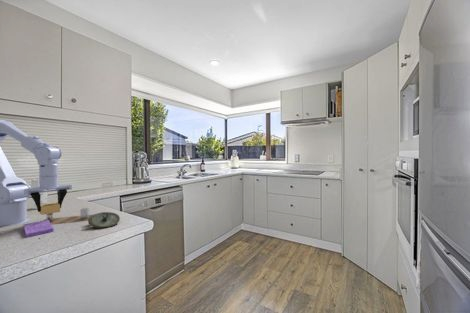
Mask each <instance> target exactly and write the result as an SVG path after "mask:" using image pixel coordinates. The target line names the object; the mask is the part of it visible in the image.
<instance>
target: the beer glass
mask: <svg viewBox="0 0 470 313" xmlns="http://www.w3.org/2000/svg"><path fill="white" fill-rule="evenodd" d="M30 187H31V188H38V187H40V184H39V178H37V179H31V181H30ZM43 191H48V190H43ZM40 195H41V197H40V205H43V204H48V195H49V192H42V193H40ZM32 201H33V203H32V208H31V209H32V210H37V206H36V204H35V202H34V200H33V199H32Z"/></svg>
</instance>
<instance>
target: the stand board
mask: <svg viewBox="0 0 470 313" xmlns="http://www.w3.org/2000/svg"><path fill="white" fill-rule="evenodd" d="M79 211H80V215H75V216H74V215H73V216H65V217H55V218H54V213H50V214H45V215H46V218H45V219H44V220H47V219H48V220H49V221H50V223H51V225H52V226H53V225H60V224H70V223H80V222H88V219H89V218H90V217H91V216H93V215H94V214H93V213H92V214H90V207H83V208H80V210H79Z"/></svg>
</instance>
